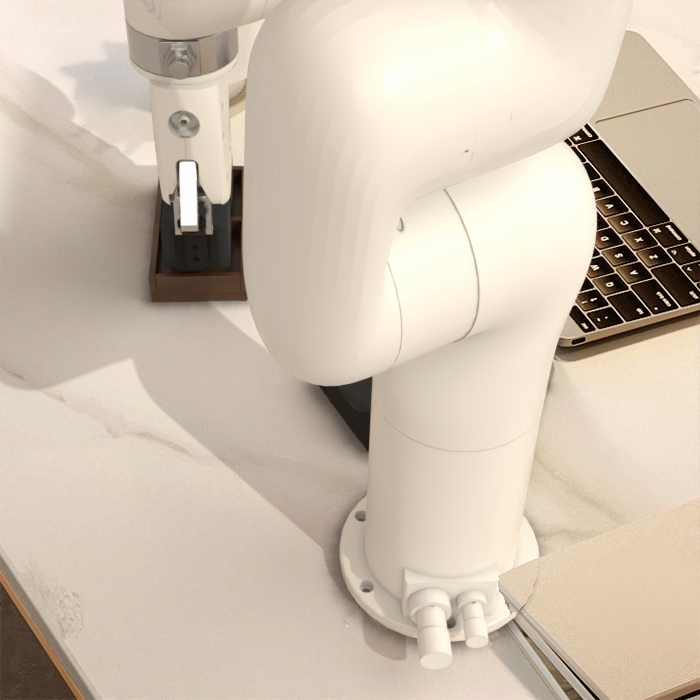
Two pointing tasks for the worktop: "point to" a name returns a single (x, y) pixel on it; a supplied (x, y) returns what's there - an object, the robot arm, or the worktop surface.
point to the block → (219, 217)
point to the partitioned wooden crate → (208, 283)
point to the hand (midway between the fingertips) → (199, 243)
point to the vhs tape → (353, 406)
